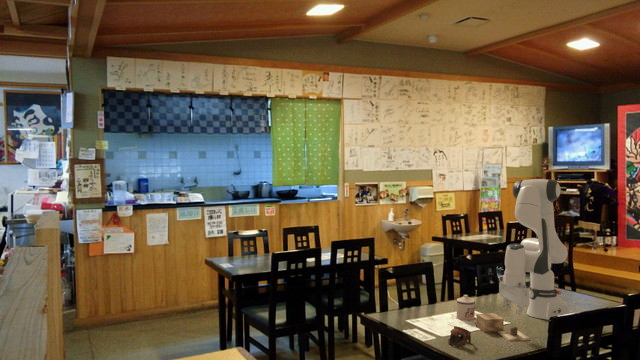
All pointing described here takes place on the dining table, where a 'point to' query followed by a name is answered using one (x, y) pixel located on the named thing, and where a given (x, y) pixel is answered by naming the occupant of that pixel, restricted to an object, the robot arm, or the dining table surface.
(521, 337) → the lid
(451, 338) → the brown lumpy figurine
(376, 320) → the dining table surface
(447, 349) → the dining table surface
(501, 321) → the box body
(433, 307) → the dining table surface
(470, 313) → the teacup with lid
